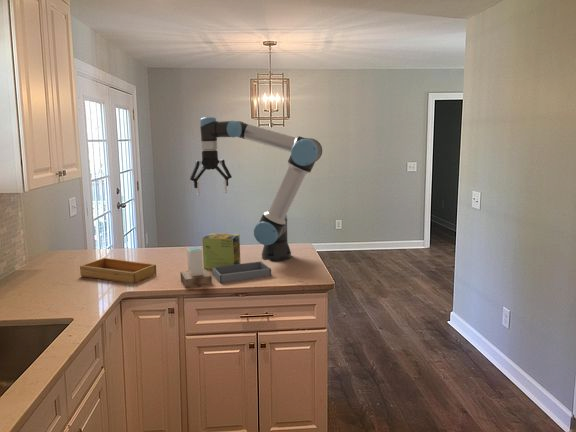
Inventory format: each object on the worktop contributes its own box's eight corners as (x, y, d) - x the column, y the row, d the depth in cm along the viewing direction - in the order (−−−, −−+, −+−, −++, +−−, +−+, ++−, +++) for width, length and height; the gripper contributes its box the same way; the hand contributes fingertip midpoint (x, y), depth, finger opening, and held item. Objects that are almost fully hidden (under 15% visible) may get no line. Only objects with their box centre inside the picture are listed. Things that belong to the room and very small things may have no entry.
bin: (261, 269, 227) (261, 261, 227) (271, 277, 215) (271, 268, 214) (212, 275, 219) (212, 267, 218) (220, 284, 206) (219, 275, 206)
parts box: (200, 271, 212) (198, 246, 210) (203, 275, 207) (201, 249, 205) (188, 272, 210) (187, 247, 208) (191, 276, 205) (189, 250, 203)
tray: (156, 275, 223) (155, 263, 222) (134, 285, 209) (133, 272, 208) (105, 268, 235) (104, 257, 234) (80, 277, 221) (79, 265, 220)
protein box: (234, 271, 226) (233, 238, 223) (203, 269, 229) (201, 237, 226) (241, 265, 236) (240, 233, 233) (211, 263, 239) (209, 233, 236)
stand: (205, 277, 217) (205, 268, 216) (211, 285, 206) (211, 276, 205) (180, 280, 213) (180, 271, 212) (185, 288, 202) (185, 279, 201)
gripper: (232, 148, 241) (233, 191, 245) (182, 150, 232) (184, 194, 235) (236, 149, 235) (238, 192, 238) (185, 151, 225) (188, 196, 229)
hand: (211, 193), depth 237 cm, fingers open, 13 cm apart
